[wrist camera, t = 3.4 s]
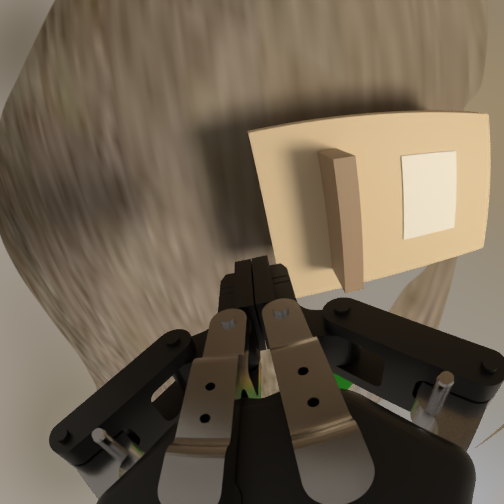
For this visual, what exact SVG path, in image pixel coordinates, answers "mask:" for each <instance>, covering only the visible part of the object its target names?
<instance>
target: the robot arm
mask: <svg viewBox="0 0 504 504" xmlns="http://www.w3.org/2000/svg"><path fill="white" fill-rule="evenodd" d="M265 341H266V345H267V349H270V352H271V356H272V360H273V364H274V369H275V373H276V377H277V381H278V385H279V389H280V392H278V393H275V394H273V395H270V396H268V397H265V398H261V368H262V366H261V362H260V351H261V350H266V345H265ZM333 373H335V374H337V375H338V376H340V377H342V378H344V379H346V380H348V381H350V382H352V383H353V384H355V385H357V386H359V387H361V388H363V389H365V390H367V391H369V392H371V393H373V394H375V395H377V396H379V397H381V398H383V399H385V400H387V401H389V402H391V403H393V404H395V405H397V406H399V407H401V408H404V409H406V410H408V411H410V412H411V419H412V422H413V423H412V422H410V421H408V420H406V419H405V418H403V417H400V416H399V415H397V414H395V413H393V412H391V411H390V410H388V409H386V408H384V407H382V406H381V405H379V404H377V403H375V402H373V401H372V400H370V399H368V398H366V397H364V396H363V395H361V394H358V393H356V392H354V391H350V390H347V389H341V388H339V386H338V384H337V382H336V379H335V377H334V375H333ZM171 376H173V377H174V379H175V382H174V383H173V384H172V385H171V386H170V387H168V388H167V389H166V390H165V391H164V392H163V393H162V394H161V395H160V396H159V397H158V398H157V399H156V400H155V401H154V402H151V397H152V395H153V393H154V392H155V391H156V390H157V389H158V388H159V387H160V386H162V385H163V384H164V383H165V382H166V381H167V380H168V379H169V378H170V377H171ZM503 381H504V357H503V356H502V355H501V354H500V353H499V352H497V351H495V350H492V349H489V348H487V347H484V346H481V345H478V344H475V343H472V342H470V341H467V340H464V339H461V338H459V337H456V336H453V335H450V334H447V333H445V332H442V331H439V330H436V329H434V328H431V327H428V326H425V325H422V324H420V323H417V322H414V321H411V320H409V319H406V318H403V317H400V316H398V315H395V314H392V313H390V312H387V311H384V310H381V309H379V308H376V307H373V306H370V305H368V304H365V303H362V302H360V301H357V300H354V299H351V298H337V299H333V300H331V301H329V302H328V303H327V304H326V305H325V306H324V308H323V310H309V309H305V308H303V307H301V306H300V305H299V304H298V303H297V300H296V297H295V294H294V290H293V287H292V283H291V280H290V276H289V273H288V270H287V268H286V267H285V266H284V265H282V264H281V263H279V264H275V265H270V266H269V261H268V257H267V255H266V256H261V257H256V258H252V262H251V259H247V260H243V261H238V262H235V273H232V274H227V275H225V277H224V278H223V279H222V281H221V285H220V296H219V307H218V313H217V314H216V315H215V316H214V317H213V318H212V319H211V321H210V325H209V329H208V330H206V331H204V332H202V333H199V334H197V335H194V336H191V335H190V333H189V332H188V331H186V330H183V329H176V330H172V331H169V332H167V333H165V334H164V335H163V336H161V337H160V338H159V339H158V340H157V341H155V342H154V343H153V344H152V345H151V346H150V347H148V348H147V349H146V350H145V351H144V352H142V353H141V354H140V355H139V356H138V357H137V358H135V359H134V360H133V361H132V362H131V363H130V364H128V365H127V366H126V367H125V368H124V369H122V370H121V371H120V372H119V373H118V374H117V375H115V376H114V377H113V378H112V379H111V380H109V381H108V382H107V383H106V384H105V385H104V386H102V387H101V388H100V389H99V390H98V391H96V392H95V393H94V394H93V395H92V396H91V397H89V398H88V399H87V400H86V401H85V402H83V403H82V404H81V405H80V406H79V407H77V408H76V409H75V410H74V411H73V412H72V413H70V414H69V415H68V416H67V417H66V418H64V419H63V420H62V421H61V422H60V423H59V424H57V425H56V426H55V427H54V428H53V430H52V431H51V434H50V437H49V443H50V447H51V448H52V450H53V451H55V452H56V453H57V454H58V455H60V456H61V457H62V458H64V459H65V460H66V461H67V462H68V463H69V464H70V465H72V466H73V467H75V468H76V469H77V470H78V472H79V473H80V475H81V476H82V478H83V479H84V481H85V482H86V483H87V485H88V486H89V487H90V488H91V490H92V491H93V493H94V494H95V495H96V497H97V498H98V499H99V500H98V502H97V504H472V498H473V492H474V487H475V481H476V473H475V468H474V464H473V462H472V460H471V458H470V456H469V455H468V453H467V452H466V451H467V449H468V447H469V445H470V443H471V441H472V439H473V437H474V435H475V433H476V430H477V428H478V426H479V424H480V421H481V419H482V416H483V414H484V411H485V409H486V408H487V406H488V405H489V403H490V402H491V400H492V399H493V397H494V396H495V394H496V393H497V391H498V389H499V388H500V386H501V384H502V382H503Z"/></svg>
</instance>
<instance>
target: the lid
mask: <svg viewBox="0 0 504 504" xmlns="http://www.w3.org/2000/svg"><path fill="white" fill-rule="evenodd" d="M247 132H248V136H249V140H250V143H251V148H252V152H253V157H254V161H255V166H256V170H257V175H258V179H259V184H260V189H261V193H262V198H263V203H264V207H265V212H266V217H267V222H268V226H269V231H270V236H271V241H272V246H273V251H274V256H275V260H276V264H279V263H281V264H282V265H284V266H285V267H286V268H287V270H288V273H289V276H290V280H291V283H292V287H293V290H294V294H295V297H296V298H299V297H303V296H308V295H312V294H317V293H321V292H325V291H330V290H334V289H338V288H343V290H344V292H345V293H348V292H352V291H356V290H360V289H363V288H364V285H363V284H364V282H367V281H370V280H374V279H378V278H382V277H386V276H389V275H393V274H397V273H400V272H404V271H408V270H411V269H415V268H418V267H422V266H425V265H429V264H432V263H436V262H439V261H442V260H446V259H449V258H452V257H455V256H459V255H462V254H465V253H468V252H471V251H474V250H477V249H480V248H483V246H484V239H485V232H486V225H487V216H488V205H489V191H490V129H489V116H488V114H484V113H478V112H470V111H444V110H422V111H392V112H376V113H363V114H352V115H343V116H334V117H326V118H318V119H311V120H304V121H298V122H292V123H286V124H280V125H275V126H269V127H264V128H259V129H254V130H249V131H247Z"/></svg>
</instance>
